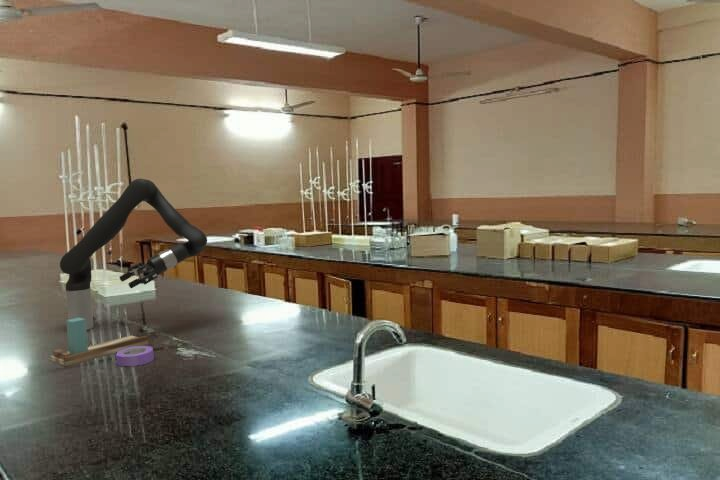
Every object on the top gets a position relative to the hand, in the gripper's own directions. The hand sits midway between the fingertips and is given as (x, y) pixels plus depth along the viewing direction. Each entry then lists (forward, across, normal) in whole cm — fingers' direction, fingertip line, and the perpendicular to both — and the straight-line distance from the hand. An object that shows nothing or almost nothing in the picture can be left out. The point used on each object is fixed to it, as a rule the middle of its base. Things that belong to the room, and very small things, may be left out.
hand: (124, 282), depth 207 cm
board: (+20, +11, +14) cm, 27 cm away
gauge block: (+27, +11, +10) cm, 30 cm away
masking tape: (+15, +31, +13) cm, 37 cm away
